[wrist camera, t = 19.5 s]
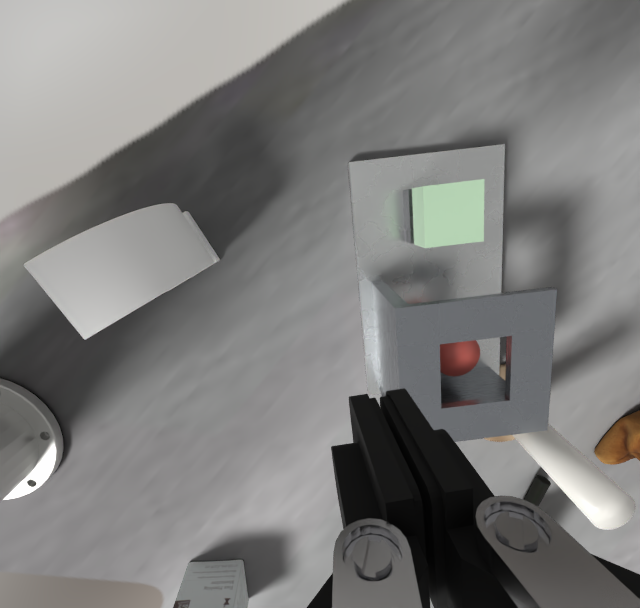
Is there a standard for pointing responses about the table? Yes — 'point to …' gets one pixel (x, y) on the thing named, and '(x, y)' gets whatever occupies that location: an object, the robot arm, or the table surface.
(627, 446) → the brown rounded furry figure
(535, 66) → the table surface
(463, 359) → the plunger
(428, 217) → the on button
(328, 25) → the table surface
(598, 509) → the white rounded rod
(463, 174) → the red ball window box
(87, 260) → the headphone stand
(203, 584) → the skincare box
